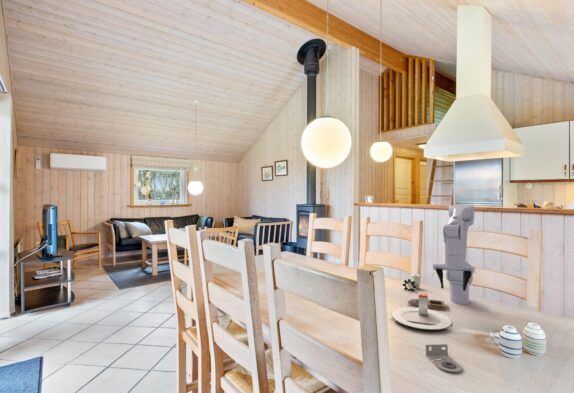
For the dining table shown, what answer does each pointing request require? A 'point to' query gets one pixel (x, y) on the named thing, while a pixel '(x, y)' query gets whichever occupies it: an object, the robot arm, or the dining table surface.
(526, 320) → the dining table surface
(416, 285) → the valve
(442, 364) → the bracket
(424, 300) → the pin
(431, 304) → the board
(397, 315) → the plate
